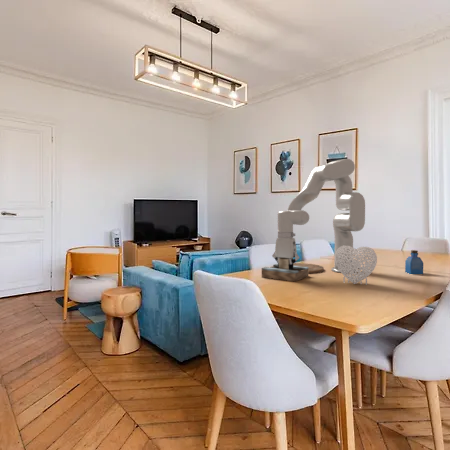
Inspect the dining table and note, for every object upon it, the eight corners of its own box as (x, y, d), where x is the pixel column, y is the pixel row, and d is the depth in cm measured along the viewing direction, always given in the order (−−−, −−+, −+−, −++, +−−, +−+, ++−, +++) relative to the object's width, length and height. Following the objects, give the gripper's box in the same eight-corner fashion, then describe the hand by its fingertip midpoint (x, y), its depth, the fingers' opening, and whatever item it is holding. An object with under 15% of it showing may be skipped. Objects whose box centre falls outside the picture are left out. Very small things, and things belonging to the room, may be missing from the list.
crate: (308, 276, 169) (308, 267, 169) (294, 281, 156) (294, 271, 156) (276, 272, 180) (276, 263, 179) (261, 277, 167) (261, 268, 167)
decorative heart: (331, 283, 152) (332, 246, 151) (337, 279, 161) (338, 244, 160) (374, 288, 142) (375, 248, 141) (378, 283, 151) (378, 246, 150)
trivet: (291, 264, 205) (291, 261, 205) (330, 269, 189) (330, 266, 189) (269, 270, 186) (269, 267, 186) (311, 276, 170) (311, 272, 170)
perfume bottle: (417, 272, 177) (417, 249, 176) (423, 274, 170) (423, 251, 170) (405, 272, 177) (405, 249, 177) (410, 274, 171) (410, 251, 170)
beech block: (292, 275, 168) (292, 258, 168) (287, 277, 164) (287, 259, 164) (283, 274, 171) (283, 257, 171) (278, 276, 168) (278, 258, 167)
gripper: (304, 235, 165) (304, 271, 166) (274, 234, 175) (274, 268, 176) (297, 236, 159) (298, 274, 160) (266, 235, 169) (267, 270, 170)
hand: (285, 270), depth 168 cm, fingers closed on beech block, 5 cm apart
